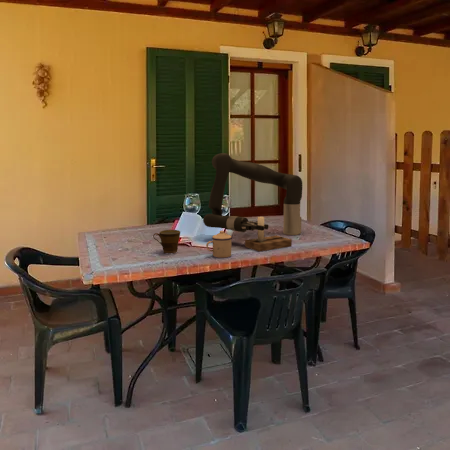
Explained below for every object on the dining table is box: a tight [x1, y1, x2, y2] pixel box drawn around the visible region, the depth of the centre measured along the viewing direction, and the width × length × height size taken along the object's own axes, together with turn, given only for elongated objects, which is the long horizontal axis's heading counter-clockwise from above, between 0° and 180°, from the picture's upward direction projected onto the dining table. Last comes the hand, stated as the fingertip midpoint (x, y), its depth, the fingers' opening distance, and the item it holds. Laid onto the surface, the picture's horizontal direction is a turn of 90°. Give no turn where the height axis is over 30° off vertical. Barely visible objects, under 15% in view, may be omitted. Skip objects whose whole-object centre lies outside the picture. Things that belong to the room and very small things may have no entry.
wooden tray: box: [244, 234, 293, 253], centre depth 232 cm, size 20×12×4 cm, turn 122°
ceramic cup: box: [152, 229, 181, 254], centre depth 222 cm, size 13×10×10 cm
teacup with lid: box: [205, 230, 233, 259], centre depth 214 cm, size 12×9×12 cm
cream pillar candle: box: [254, 216, 267, 242], centre depth 228 cm, size 4×4×14 cm
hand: (265, 227), depth 226 cm, fingers closed on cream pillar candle, 3 cm apart
